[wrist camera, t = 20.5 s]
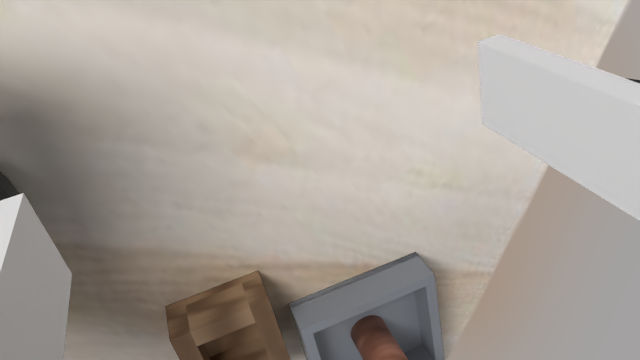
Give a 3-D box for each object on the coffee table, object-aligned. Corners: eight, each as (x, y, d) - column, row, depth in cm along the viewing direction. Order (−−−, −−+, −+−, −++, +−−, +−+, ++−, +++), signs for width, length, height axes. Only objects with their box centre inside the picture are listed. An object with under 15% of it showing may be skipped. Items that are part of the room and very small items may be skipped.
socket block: (196, 369, 60) (203, 405, 56) (165, 306, 55) (169, 340, 50) (280, 334, 62) (292, 366, 57) (257, 270, 56) (269, 300, 52)
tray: (317, 392, 68) (329, 420, 65) (288, 303, 60) (300, 330, 56) (428, 343, 71) (445, 367, 67) (415, 252, 63) (434, 274, 59)
